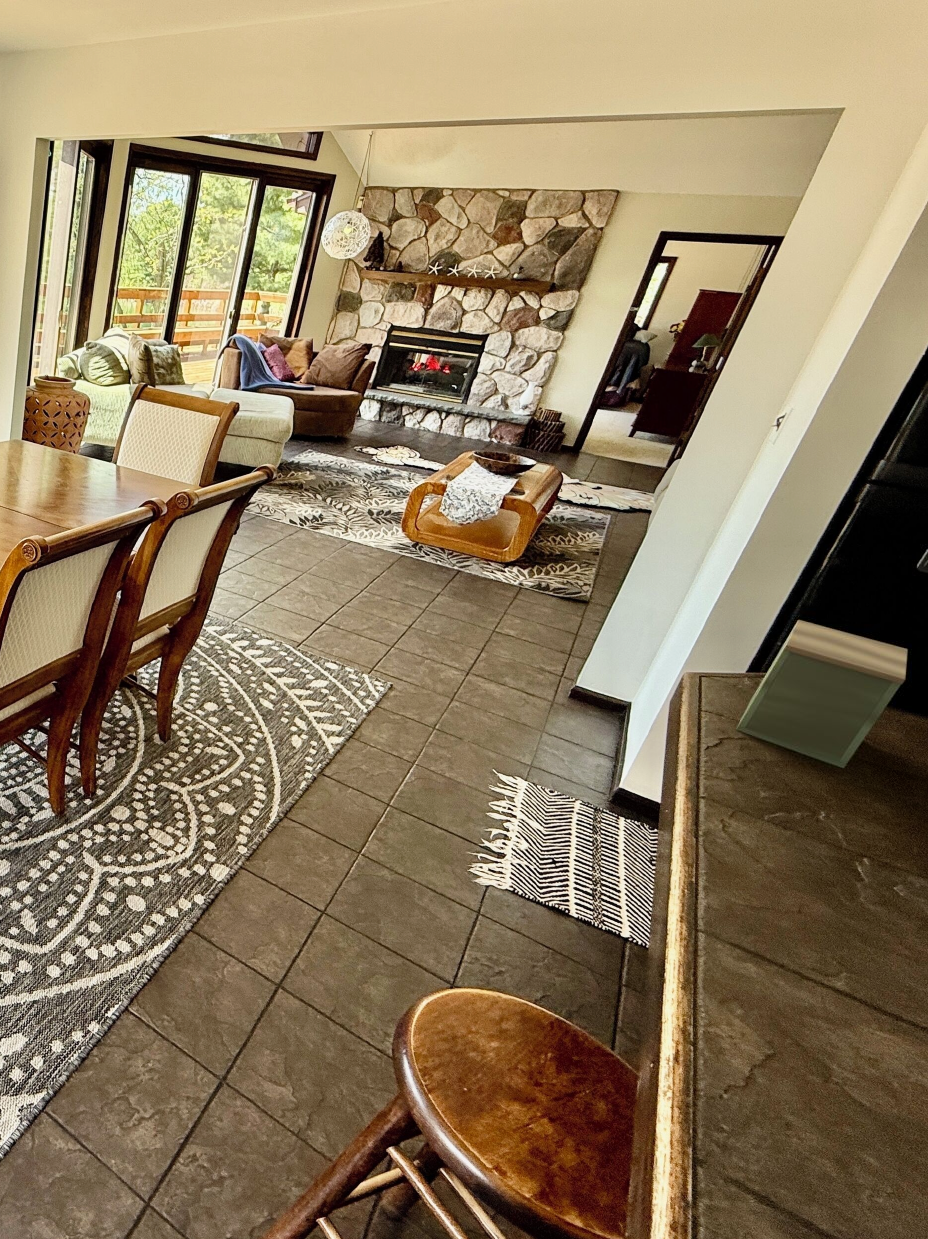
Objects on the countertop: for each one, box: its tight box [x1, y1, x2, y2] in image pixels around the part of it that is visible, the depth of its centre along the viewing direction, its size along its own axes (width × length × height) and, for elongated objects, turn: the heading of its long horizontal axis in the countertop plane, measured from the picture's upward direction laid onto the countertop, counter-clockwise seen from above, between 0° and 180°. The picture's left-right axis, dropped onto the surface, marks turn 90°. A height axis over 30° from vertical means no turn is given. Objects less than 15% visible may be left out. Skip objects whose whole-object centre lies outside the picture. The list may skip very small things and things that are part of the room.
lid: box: [784, 619, 908, 685], centre depth 108 cm, size 16×12×1 cm
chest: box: [735, 625, 902, 769], centre depth 112 cm, size 16×12×14 cm
